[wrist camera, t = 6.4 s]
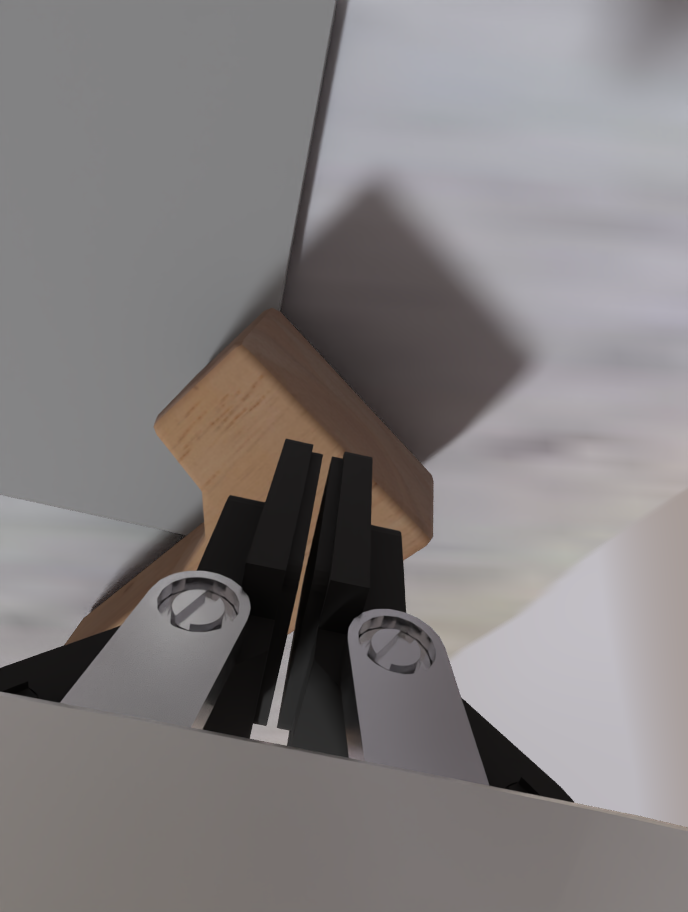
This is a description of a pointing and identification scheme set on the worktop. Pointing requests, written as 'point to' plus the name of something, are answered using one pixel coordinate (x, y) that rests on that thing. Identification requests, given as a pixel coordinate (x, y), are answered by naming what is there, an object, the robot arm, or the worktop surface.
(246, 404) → the wooden block
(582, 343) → the worktop surface
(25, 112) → the mat
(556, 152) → the worktop surface
